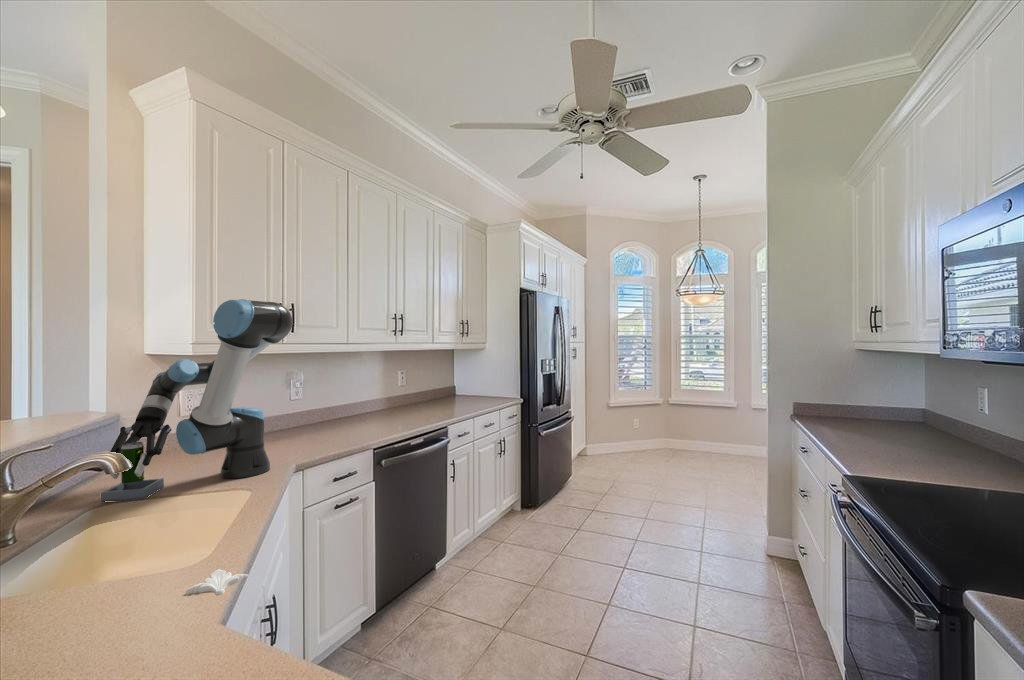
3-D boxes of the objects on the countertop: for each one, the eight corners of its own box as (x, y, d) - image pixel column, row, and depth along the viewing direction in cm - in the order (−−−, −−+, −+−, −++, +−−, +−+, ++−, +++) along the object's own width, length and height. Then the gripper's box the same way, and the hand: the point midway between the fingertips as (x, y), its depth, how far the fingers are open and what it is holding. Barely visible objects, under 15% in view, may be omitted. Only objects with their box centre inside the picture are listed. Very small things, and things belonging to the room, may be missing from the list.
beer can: (119, 486, 134) (119, 446, 134) (123, 481, 138) (122, 443, 138) (143, 483, 137) (142, 444, 137) (145, 478, 141) (144, 440, 141)
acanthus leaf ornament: (185, 598, 82) (185, 587, 82) (212, 578, 89) (212, 568, 89) (224, 598, 82) (224, 588, 82) (249, 578, 88) (248, 568, 88)
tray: (163, 487, 144) (163, 478, 144) (144, 499, 133) (144, 489, 133) (123, 490, 141) (123, 481, 141) (100, 503, 130) (100, 492, 130)
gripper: (189, 417, 154) (165, 479, 139) (126, 420, 150) (94, 484, 134) (181, 404, 149) (156, 466, 133) (116, 406, 145) (82, 471, 129)
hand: (125, 475), depth 134 cm, fingers closed on beer can, 5 cm apart
